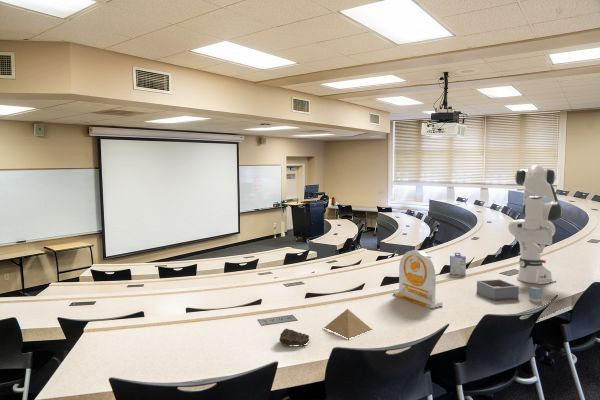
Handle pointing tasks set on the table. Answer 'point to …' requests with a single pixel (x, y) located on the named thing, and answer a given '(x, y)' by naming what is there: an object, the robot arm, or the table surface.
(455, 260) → the ink cartridge box
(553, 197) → the robot arm
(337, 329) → the model pyramid
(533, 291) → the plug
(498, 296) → the walled box
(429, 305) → the award
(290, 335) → the dark brown rock
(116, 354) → the table surface
